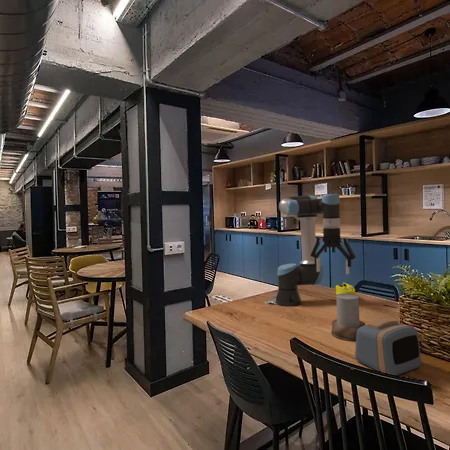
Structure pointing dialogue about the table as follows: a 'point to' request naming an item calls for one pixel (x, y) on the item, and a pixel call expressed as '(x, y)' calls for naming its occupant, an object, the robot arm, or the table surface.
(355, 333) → the plinth
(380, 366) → the alarm clock
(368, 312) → the table surface
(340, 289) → the yellow toy chassis
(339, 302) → the speckled grey cylinder
